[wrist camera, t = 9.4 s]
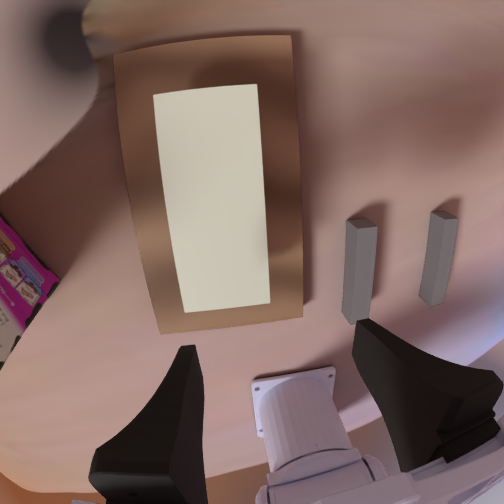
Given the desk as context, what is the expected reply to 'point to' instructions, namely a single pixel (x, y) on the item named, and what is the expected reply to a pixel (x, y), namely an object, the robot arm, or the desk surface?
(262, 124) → the peg stand
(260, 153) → the shelf board
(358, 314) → the battens
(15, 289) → the candy bar box
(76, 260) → the desk surface
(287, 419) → the robot arm
